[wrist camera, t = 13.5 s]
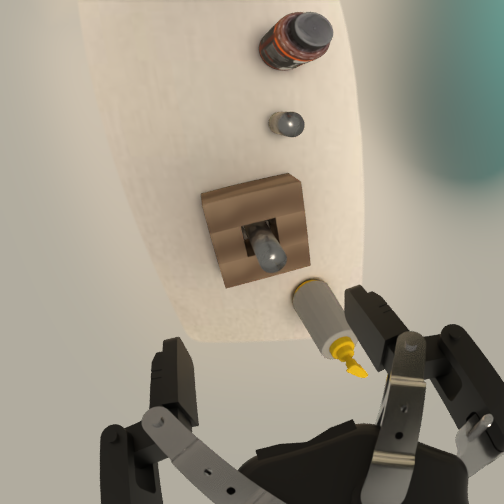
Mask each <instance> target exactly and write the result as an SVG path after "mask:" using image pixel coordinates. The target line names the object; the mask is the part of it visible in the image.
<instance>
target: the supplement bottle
mask: <svg viewBox="0 0 504 504" xmlns="http://www.w3.org/2000/svg"><path fill="white" fill-rule="evenodd" d="M332 37H333V29H332V26H331V24H330V22H329V21H328V20H327V19H326V18H325V17H323V16H322V15H320V14H318V13H314V12H306V13H303V12H295V13H291V14H288V15H286V16H284V17H283V18H282V19H280V20H279V21H278V22H277V23H276V24H275V25H274V26H273V27H272V28H271V29H270V30H269V32H268V33H267V34H266V35H265V36H264V37H263V38H262V40H261V42H260V46H259V52H260V55H261V57H262V59H263V60H264V62H265V63H266V64H267V65H269V66H270V67H272V68H274V69H278V70H290V69H293V68H296V67H298V66H300V65H303V64H305V63H308V62H310V61H313V60H315V59H317V58H319V57H321V56H322V55H324V54H325V53H326V52H327V50H328V47H329V45H330V41H331V40H332Z"/></svg>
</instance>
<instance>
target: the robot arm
mask: <svg viewBox="0 0 504 504" xmlns="http://www.w3.org/2000/svg"><path fill="white" fill-rule="evenodd" d="M344 313H345V318H346V321H347V323H348V325H349V326H350V328H351V330H352V331H353V333H354V334H355V336H356V338H357V339H358V341H359V342H360V344H361V346H362V347H363V349H364V350H365V352H366V353H367V355H368V357H369V358H370V360H371V362H372V363H373V365H374V367H375V368H376V370H377V371H378V372H379V371H382V370H384V369H385V370H386V371H387V373H388V375H387V379H386V384H385V388H384V393H383V398H382V402H381V406H380V410H379V413H378V417H377V420H376V423H375V424H365V423H363V424H355V423H354V421H353V419H352V420H350V421H347V422H344V423H342V424H339V425H337V426H334V427H331V428H329V429H328V430H326V431H325V432H323V433H321V434H320V435H318V436H316V437H315V438H313V439H312V440H310V441H308V442H303V443H287V444H278V445H274V446H270V447H266V448H262V449H258V450H256V454H257V456H255V457H253V458H251V459H249V460H248V461H247V462H245V463H244V464H243V465H242V466H241V467H240V468H239V469H238V470H236V469H235V468H233V467H232V466H231V465H230V464H228V463H227V462H226V461H225V460H223V459H222V458H221V457H220V456H218V455H217V454H216V453H215V452H214V451H212V450H211V449H210V448H209V447H208V446H207V445H205V444H204V443H203V442H202V441H201V440H199V439H198V438H197V437H196V436H195V435H194V434H193V433H192V427H194V426H198V425H199V423H198V413H197V402H196V391H195V377H194V366H193V362H192V359H191V357H190V355H189V353H188V351H187V349H186V348H185V346H184V344H183V342H182V340H181V339H180V337H175V338H171V339H167V340H164V341H163V352H158V353H156V355H155V357H154V359H153V361H152V368H151V372H152V373H151V384H150V407H149V410H148V411H147V412H146V413H145V414H144V415H143V418H142V420H141V421H140V422H138V423H136V424H134V425H131V426H129V427H126V428H123V427H122V426H120V425H117V424H114V425H110V426H108V427H107V428H105V429H104V431H103V432H102V434H101V440H100V489H101V490H100V491H101V504H163V500H162V493H161V486H160V478H159V470H158V462H159V461H161V460H163V459H166V458H168V457H169V458H170V459H171V462H172V464H173V465H174V466H175V467H176V468H177V469H178V470H179V471H180V472H181V473H182V474H183V475H184V476H185V477H186V478H187V479H188V480H189V481H190V482H191V483H192V484H193V485H194V486H195V487H197V488H198V489H199V490H200V491H201V492H202V493H203V494H204V495H205V496H207V497H208V498H209V499H210V500H211V501H212V502H214V503H215V504H469V502H468V493H467V491H468V478H469V477H471V476H472V475H474V474H475V473H476V472H478V471H479V470H480V469H482V468H483V467H485V466H486V465H488V464H490V463H491V462H493V461H495V460H496V459H497V458H499V457H500V456H502V455H503V454H504V382H503V381H502V379H501V378H500V376H499V375H498V374H497V372H496V371H495V369H494V368H493V366H492V365H491V364H490V362H489V361H488V359H487V358H486V357H485V355H484V354H483V353H482V351H481V350H480V349H479V347H478V346H477V345H476V344H475V342H474V341H473V340H472V338H471V337H470V336H469V335H468V334H467V332H466V331H465V330H464V329H463V328H462V327H460V326H459V325H455V324H450V325H447V326H445V327H444V328H443V329H442V331H441V334H438V335H433V336H426V337H423V336H422V335H421V334H419V333H417V332H414V331H409V330H408V329H407V327H406V326H405V325H404V324H403V322H402V321H401V320H400V318H399V317H398V316H397V315H396V314H395V312H394V311H393V310H392V309H391V308H390V306H389V305H387V303H386V302H385V300H384V299H383V298H382V297H381V296H380V295H378V294H376V293H374V292H369V293H367V292H366V291H365V289H364V288H363V287H362V286H361V285H357V286H354V287H351V288H348V289H346V290H345V308H344ZM425 379H430V380H431V382H432V383H433V385H434V387H435V388H436V390H437V392H438V393H439V395H440V397H441V399H442V400H443V402H444V404H445V406H446V407H447V409H448V411H449V413H450V415H451V416H452V418H453V420H454V422H455V424H456V426H457V428H458V429H459V431H458V432H457V435H456V446H457V449H458V452H457V456H456V455H453V454H451V453H448V452H445V451H442V450H439V449H437V448H434V447H431V446H428V445H425V444H423V443H420V442H418V438H419V432H420V427H421V421H422V415H423V407H424V400H425V392H426V382H424V380H425Z"/></svg>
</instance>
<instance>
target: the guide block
mask: <svg viewBox="0 0 504 504" xmlns="http://www.w3.org/2000/svg"><path fill="white" fill-rule="evenodd" d="M201 198H202V207H203V210H204V214H205V218H206V221H207V225H208V229H209V232H210V236H211V239H212V243H213V246H214V250H215V253H216V257H217V260H218V264H219V267H220V271H221V274H222V277H223V281H224V284H225V287H226V288H230V287H234V286H237V285H241V284H245V283H249V282H252V281H256V280H260V279H264V278H267V277H271V276H275V275H278V274H282V273H285V272H289V271H293V270H296V269H300V268H303V267H307V266H310V265H311V264H310V254H309V244H308V235H307V226H306V217H305V209H304V201H303V193H302V186H301V181H299V180H298V179H296V178H295V177H293V176H292V175H290V174H289V173H286V174H281V175H277V176H272V177H268V178H263V179H259V180H254V181H250V182H246V183H241V184H237V185H233V186H229V187H225V188H221V189H217V190H213V191H209V192H205V193H202V194H201ZM267 219H269V223H270V229H271V231H272V233H273V235H274V236H275V238H276V239H277V241H278V242H279V244H280V246H281V247H282V249H283V250H284V252H285V254H286V256H287V262H286V265H285V266H284V267H283V268H282V269H281V270H280V271H278V272H275V273H268V272H265V271H264V270H263V269H262V268H261V266H260V264H259V262H258V260H257V257H256V255H255V253H254V250H253V248H252V246H251V243H250V241H249V239H247V240H244V239H243V234H242V230H241V226H244V225H247V224H251V223H255V222H259V221H263V220H267Z"/></svg>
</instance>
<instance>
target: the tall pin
mask: <svg viewBox="0 0 504 504" xmlns="http://www.w3.org/2000/svg"><path fill="white" fill-rule="evenodd" d="M243 227H244V229H245V232H246V234H247V236H248V239H249V241H250V243H251V246H252V248H253V250H254V253H255V255H256V257H257V260H258V262H259V264H260V266H261V268H262V269H263V270H264V271H265V272H268V273H275V272H278V271H280V270H281V269H282V268H283V267H284V266H285V265H286V262H287V256H286V254H285V252H284V250H283V249H282V247H281V246H280V244H279V242H278V241H277V239H276V238H275V236H274V235H273V233H272V231H271V230H270V228H269V227H268V225H267V224H266V222H265V220H263V221H259V222H255V223H251V224H247V225H244V226H243Z"/></svg>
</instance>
